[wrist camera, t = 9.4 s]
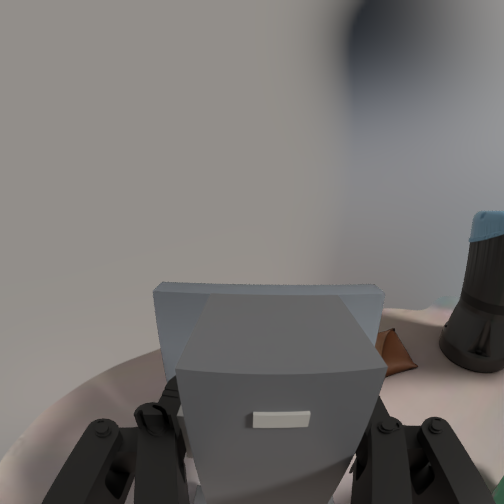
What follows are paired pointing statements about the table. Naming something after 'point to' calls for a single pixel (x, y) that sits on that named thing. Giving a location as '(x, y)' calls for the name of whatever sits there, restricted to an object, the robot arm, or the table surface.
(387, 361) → the sunglasses case
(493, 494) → the mug
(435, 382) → the table surface
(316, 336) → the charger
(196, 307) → the outlet board
